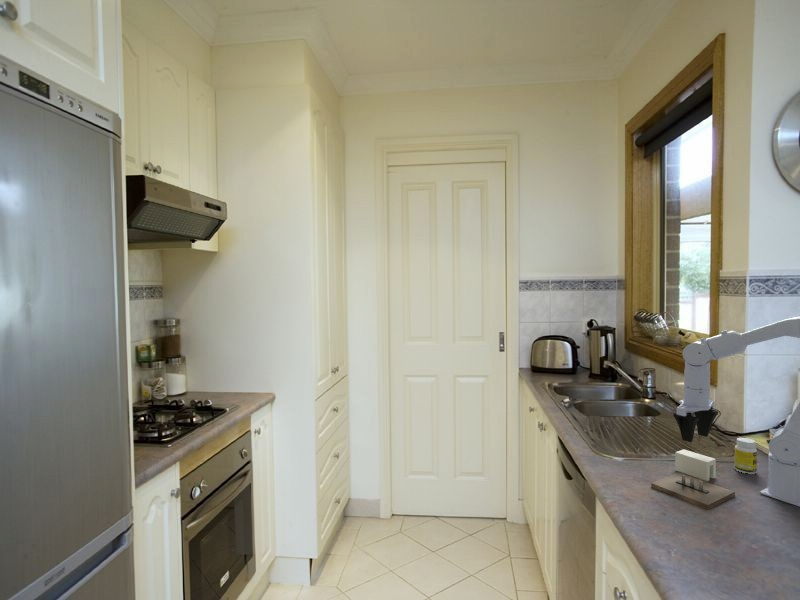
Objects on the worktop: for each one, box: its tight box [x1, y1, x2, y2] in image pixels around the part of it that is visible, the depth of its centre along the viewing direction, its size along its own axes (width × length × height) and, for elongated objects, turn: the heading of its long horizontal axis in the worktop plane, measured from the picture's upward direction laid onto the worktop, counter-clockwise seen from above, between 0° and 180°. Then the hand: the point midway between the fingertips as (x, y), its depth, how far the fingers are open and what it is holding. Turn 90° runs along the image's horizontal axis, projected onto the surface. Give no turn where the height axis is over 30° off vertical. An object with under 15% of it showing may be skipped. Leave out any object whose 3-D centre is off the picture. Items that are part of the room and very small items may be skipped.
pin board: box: [650, 471, 736, 510], centre depth 110 cm, size 13×12×3 cm
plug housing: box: [674, 448, 717, 482], centre depth 119 cm, size 8×4×5 cm, turn 29°
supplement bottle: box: [734, 437, 758, 475], centre depth 120 cm, size 5×5×8 cm
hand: (695, 438), depth 119 cm, fingers open, 7 cm apart
